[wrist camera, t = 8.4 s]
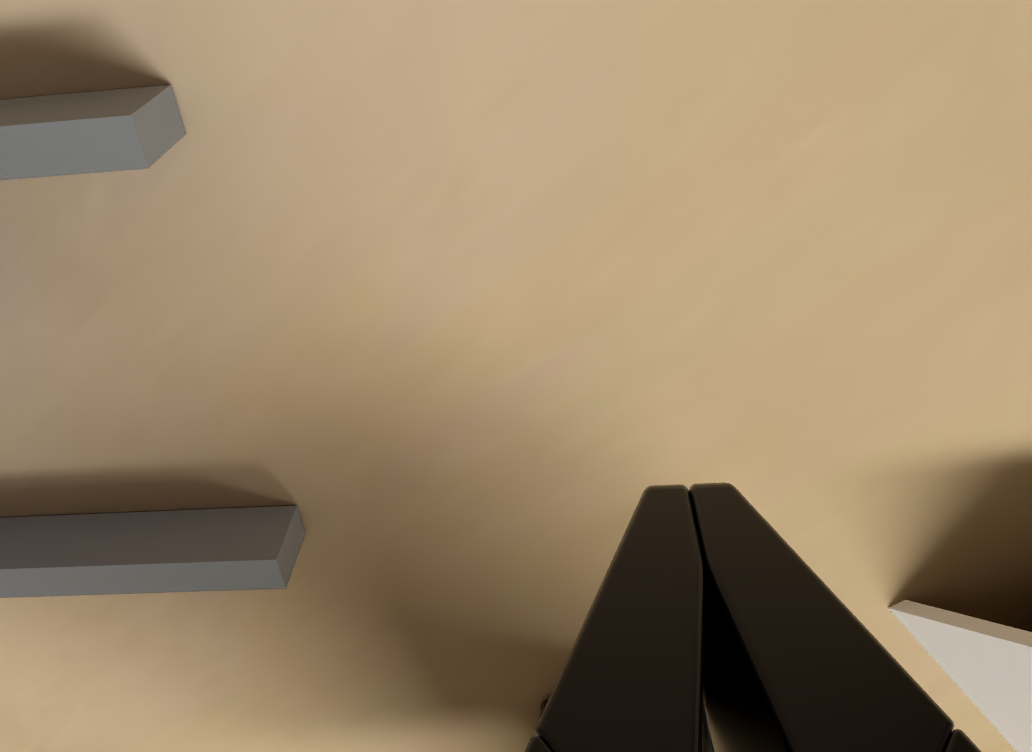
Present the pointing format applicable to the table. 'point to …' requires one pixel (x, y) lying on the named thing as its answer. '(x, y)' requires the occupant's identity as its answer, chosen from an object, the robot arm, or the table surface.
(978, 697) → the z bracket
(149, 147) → the guide rails
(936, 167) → the table surface
